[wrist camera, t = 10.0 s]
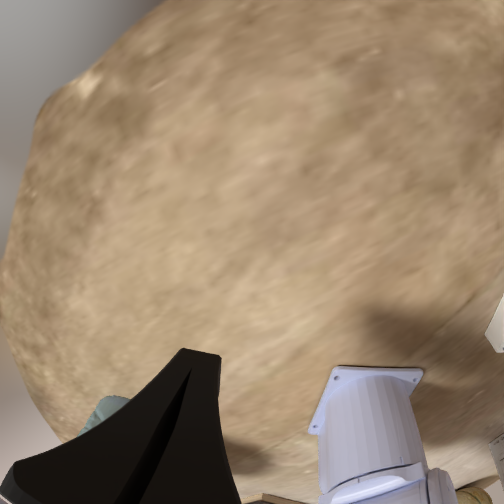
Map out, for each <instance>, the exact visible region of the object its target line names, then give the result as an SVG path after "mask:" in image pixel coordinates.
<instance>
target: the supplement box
mask: <svg viewBox="0 0 504 504" xmlns="http://www.w3.org/2000/svg"><path fill="white" fill-rule="evenodd" d="M488 445H489V448H490V450H491V453H492V456H493V459H494V462H495V465H496V468H497V471H498V474H499V477H500V480H501V484H502V487H503V491H504V433H503V434H502V435H501V436H499V437H498V438H496V439H495V440H493V441H492V442H491V443H489V444H488Z"/></svg>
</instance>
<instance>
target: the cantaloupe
mask: <svg viewBox="0 0 504 504" xmlns="http://www.w3.org/2000/svg"><path fill="white" fill-rule="evenodd" d="M456 496H457V500H458V504H493V503H492V500H491V498H490V496H489V495H488V493H487V492H485V491H484V490H482V489H481V488H477V487H468V488H464V489H460V490H458V491H456Z"/></svg>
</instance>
